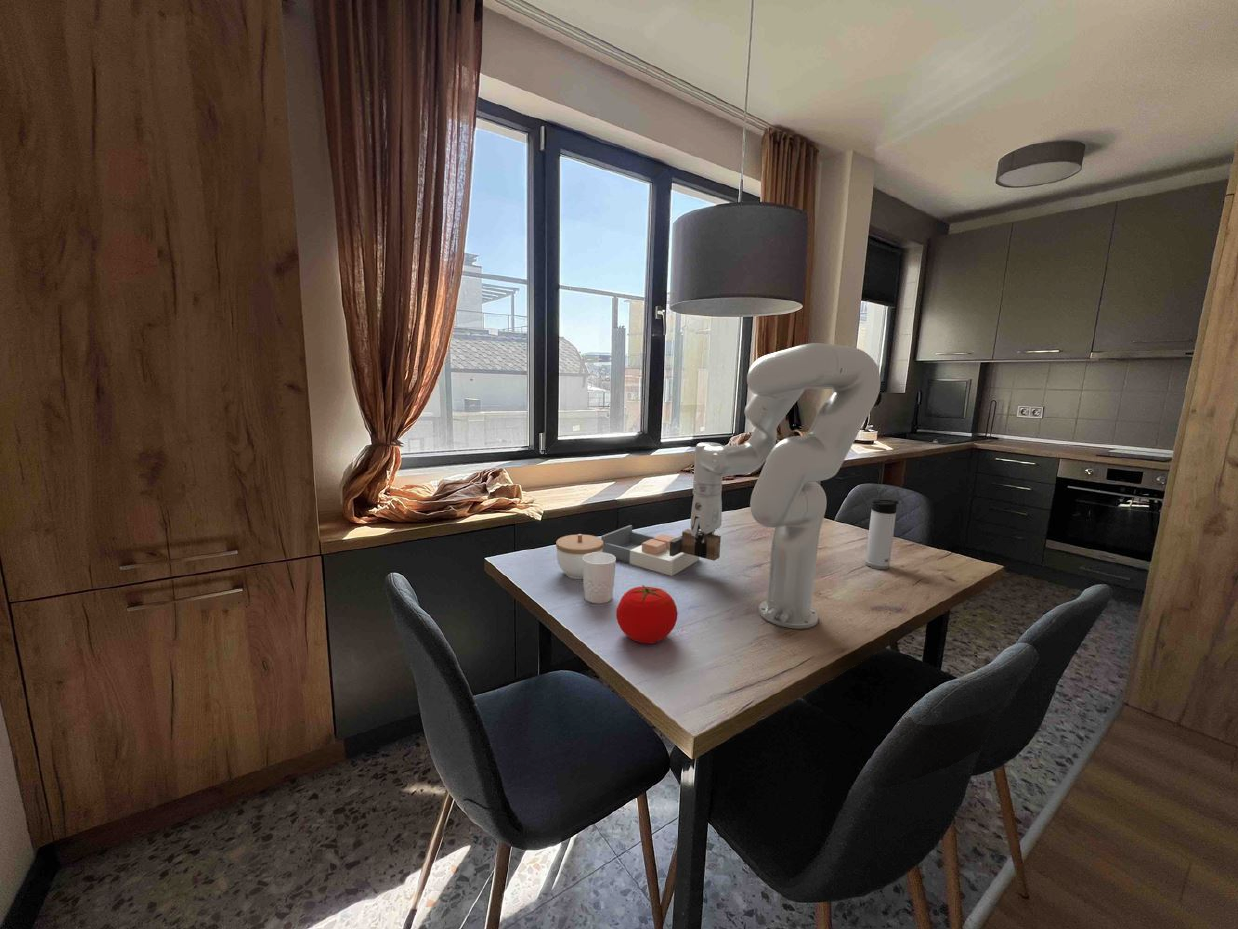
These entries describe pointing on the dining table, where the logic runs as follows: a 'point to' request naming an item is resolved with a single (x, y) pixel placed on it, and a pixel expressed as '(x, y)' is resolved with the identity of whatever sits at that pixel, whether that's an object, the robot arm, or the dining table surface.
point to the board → (661, 561)
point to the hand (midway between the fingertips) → (703, 554)
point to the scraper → (688, 545)
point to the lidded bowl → (576, 552)
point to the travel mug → (881, 533)
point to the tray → (623, 542)
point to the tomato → (646, 614)
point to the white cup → (598, 576)
